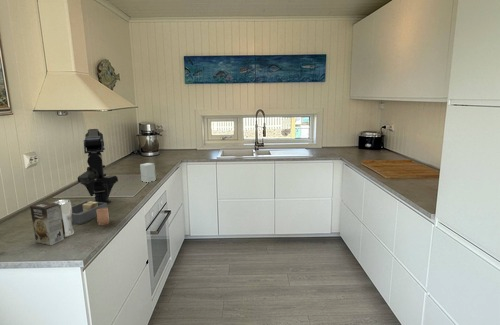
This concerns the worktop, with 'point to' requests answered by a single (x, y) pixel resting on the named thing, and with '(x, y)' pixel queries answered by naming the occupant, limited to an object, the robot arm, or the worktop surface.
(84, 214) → the tote
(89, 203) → the beech cube
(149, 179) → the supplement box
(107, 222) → the terracotta cylinder
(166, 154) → the worktop surface
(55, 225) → the coffee box
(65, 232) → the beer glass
